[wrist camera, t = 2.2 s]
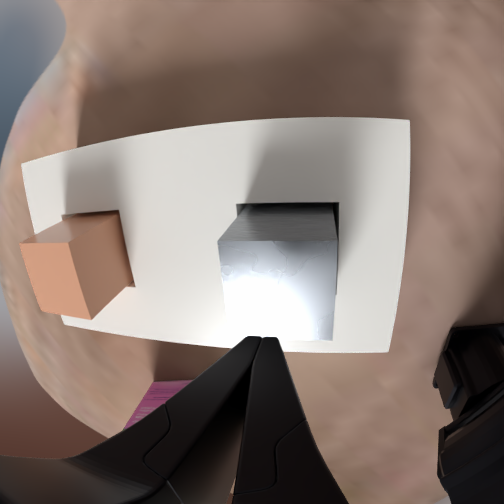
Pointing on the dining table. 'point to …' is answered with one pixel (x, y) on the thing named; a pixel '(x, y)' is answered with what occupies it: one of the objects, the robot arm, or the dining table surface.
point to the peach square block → (78, 264)
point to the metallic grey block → (280, 271)
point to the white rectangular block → (226, 211)
